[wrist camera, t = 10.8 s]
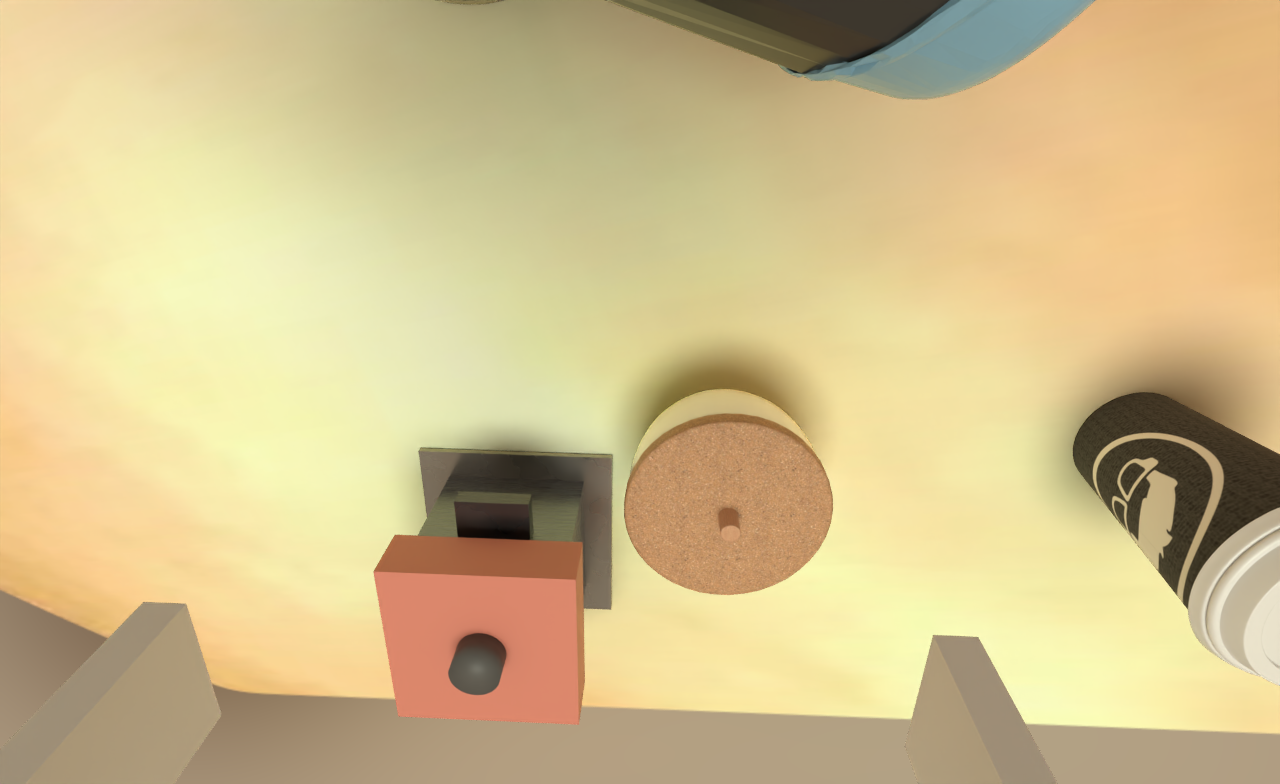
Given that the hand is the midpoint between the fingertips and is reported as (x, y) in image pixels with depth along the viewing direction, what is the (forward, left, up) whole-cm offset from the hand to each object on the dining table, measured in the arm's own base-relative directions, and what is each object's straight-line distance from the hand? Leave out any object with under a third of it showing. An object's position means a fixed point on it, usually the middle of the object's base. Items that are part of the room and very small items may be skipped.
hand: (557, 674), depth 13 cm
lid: (+18, -7, -21) cm, 28 cm away
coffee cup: (+10, +30, -29) cm, 43 cm away
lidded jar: (+11, +5, -29) cm, 31 cm away
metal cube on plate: (+18, -7, -29) cm, 35 cm away
